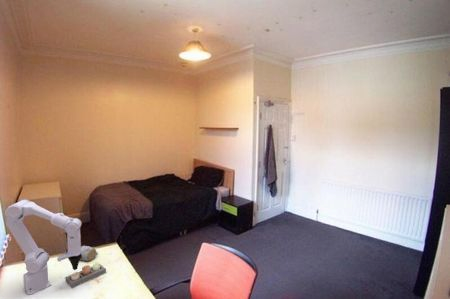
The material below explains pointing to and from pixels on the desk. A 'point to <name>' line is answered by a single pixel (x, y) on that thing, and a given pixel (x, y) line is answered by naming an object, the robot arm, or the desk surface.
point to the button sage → (96, 267)
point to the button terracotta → (85, 270)
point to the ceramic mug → (88, 254)
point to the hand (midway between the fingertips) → (75, 269)
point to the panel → (85, 277)
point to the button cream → (75, 276)
